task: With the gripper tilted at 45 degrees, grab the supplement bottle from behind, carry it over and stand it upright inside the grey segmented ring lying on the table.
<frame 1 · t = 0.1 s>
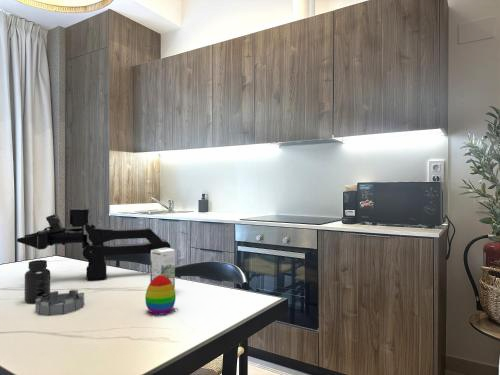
hand: (20, 238, 126), 17 cm above the table, tool horizontal, fingers open, 9 cm apart
decorative egg: (160, 311, 98), on the table
grey segmented ring: (60, 307, 100), on the table
syrup box: (162, 294, 114), on the table
supplement bottle: (37, 301, 107), on the table
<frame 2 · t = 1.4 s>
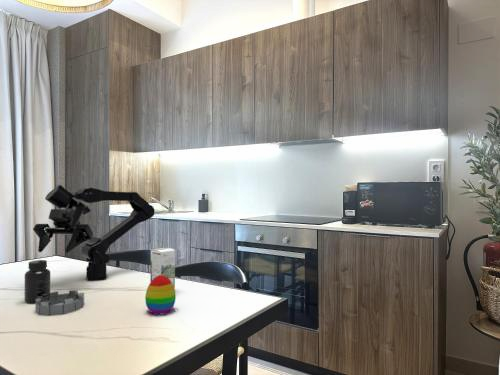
hand: (52, 251, 115), 14 cm above the table, tool tilted 45°, fingers open, 9 cm apart
nothing on the table moved.
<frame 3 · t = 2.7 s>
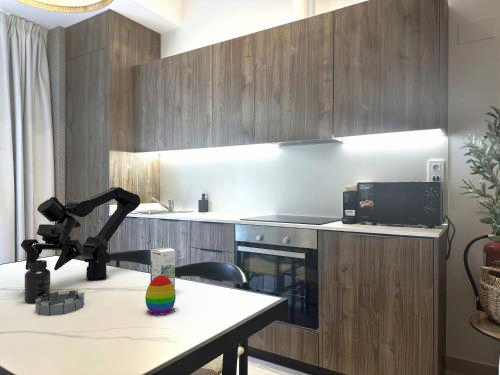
hand: (40, 269, 109), 9 cm above the table, tool tilted 45°, fingers open, 9 cm apart
nothing on the table moved.
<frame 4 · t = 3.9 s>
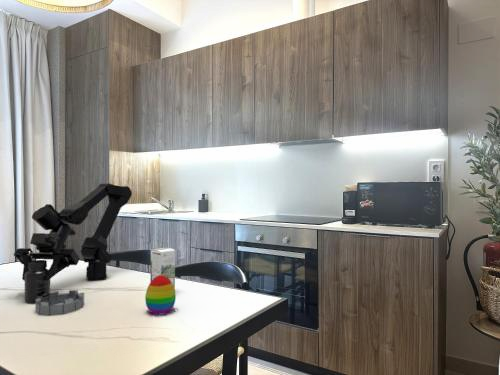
hand: (34, 280, 106), 7 cm above the table, tool tilted 45°, fingers closed on supplement bottle, 7 cm apart
supplement bottle: (37, 301, 107), on the table, touching gripper
everything else where it was.
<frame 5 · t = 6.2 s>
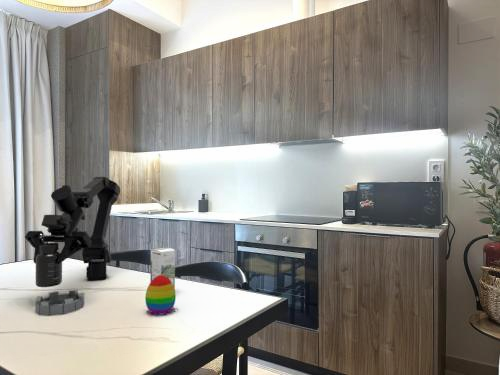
hand: (46, 262, 102), 13 cm above the table, tool tilted 45°, fingers closed on supplement bottle, 7 cm apart
supplement bottle: (48, 285, 103), point 6 cm above the table, touching gripper
everything else where it was.
when the fingers open (8 cm above the table, at t = 8.2 s): supplement bottle drops 1 cm, resting in grey segmented ring.
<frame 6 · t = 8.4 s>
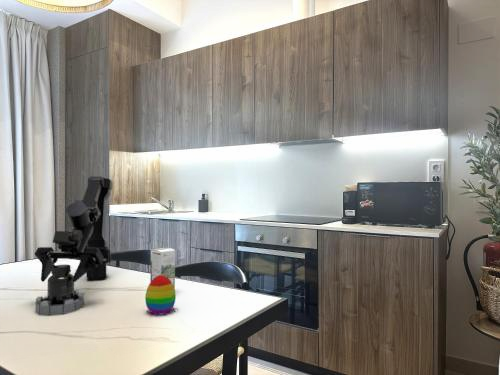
hand: (57, 281, 99), 8 cm above the table, tool tilted 45°, fingers open, 9 cm apart
supplement bottle: (61, 308, 100), resting in grey segmented ring
everything else where it was.
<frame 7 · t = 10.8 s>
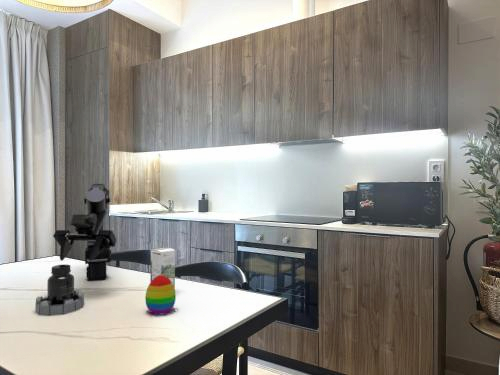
hand: (75, 259, 108), 12 cm above the table, tool tilted 45°, fingers open, 9 cm apart
nothing on the table moved.
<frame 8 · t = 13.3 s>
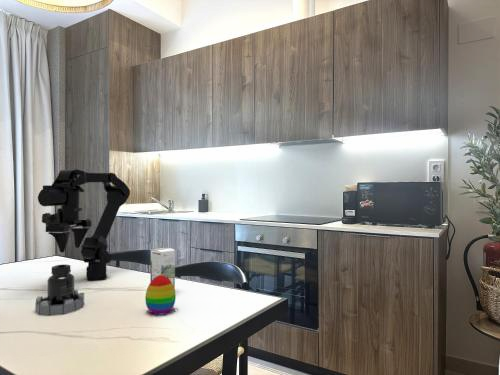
hand: (69, 249, 122), 13 cm above the table, tool pointing down, fingers open, 9 cm apart
nothing on the table moved.
at the end: supplement bottle 0.2 cm from the grey segmented ring (horizontally); supplement bottle tilted 0°; supplement bottle resting in grey segmented ring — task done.
